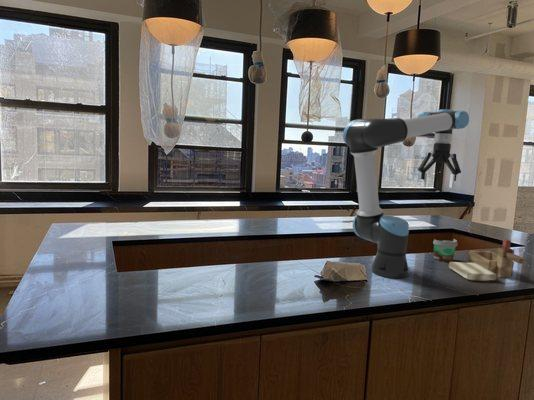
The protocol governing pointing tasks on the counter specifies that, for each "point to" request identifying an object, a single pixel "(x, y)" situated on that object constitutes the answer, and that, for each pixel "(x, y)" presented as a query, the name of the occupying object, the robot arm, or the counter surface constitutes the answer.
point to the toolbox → (493, 261)
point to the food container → (444, 250)
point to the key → (510, 255)
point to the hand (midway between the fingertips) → (437, 187)
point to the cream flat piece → (472, 271)
